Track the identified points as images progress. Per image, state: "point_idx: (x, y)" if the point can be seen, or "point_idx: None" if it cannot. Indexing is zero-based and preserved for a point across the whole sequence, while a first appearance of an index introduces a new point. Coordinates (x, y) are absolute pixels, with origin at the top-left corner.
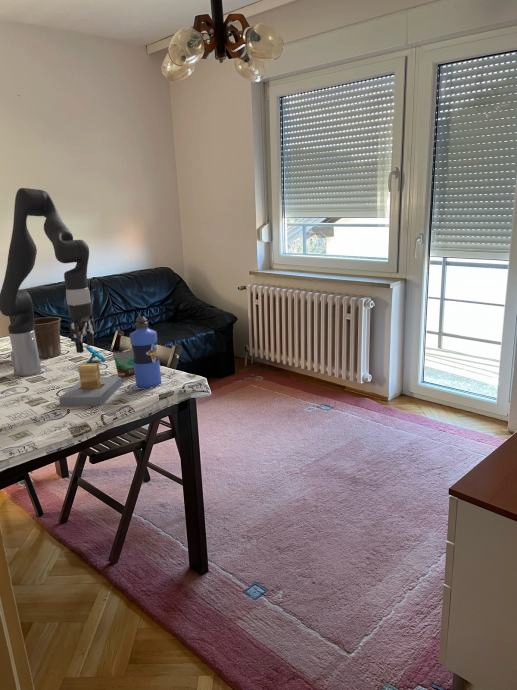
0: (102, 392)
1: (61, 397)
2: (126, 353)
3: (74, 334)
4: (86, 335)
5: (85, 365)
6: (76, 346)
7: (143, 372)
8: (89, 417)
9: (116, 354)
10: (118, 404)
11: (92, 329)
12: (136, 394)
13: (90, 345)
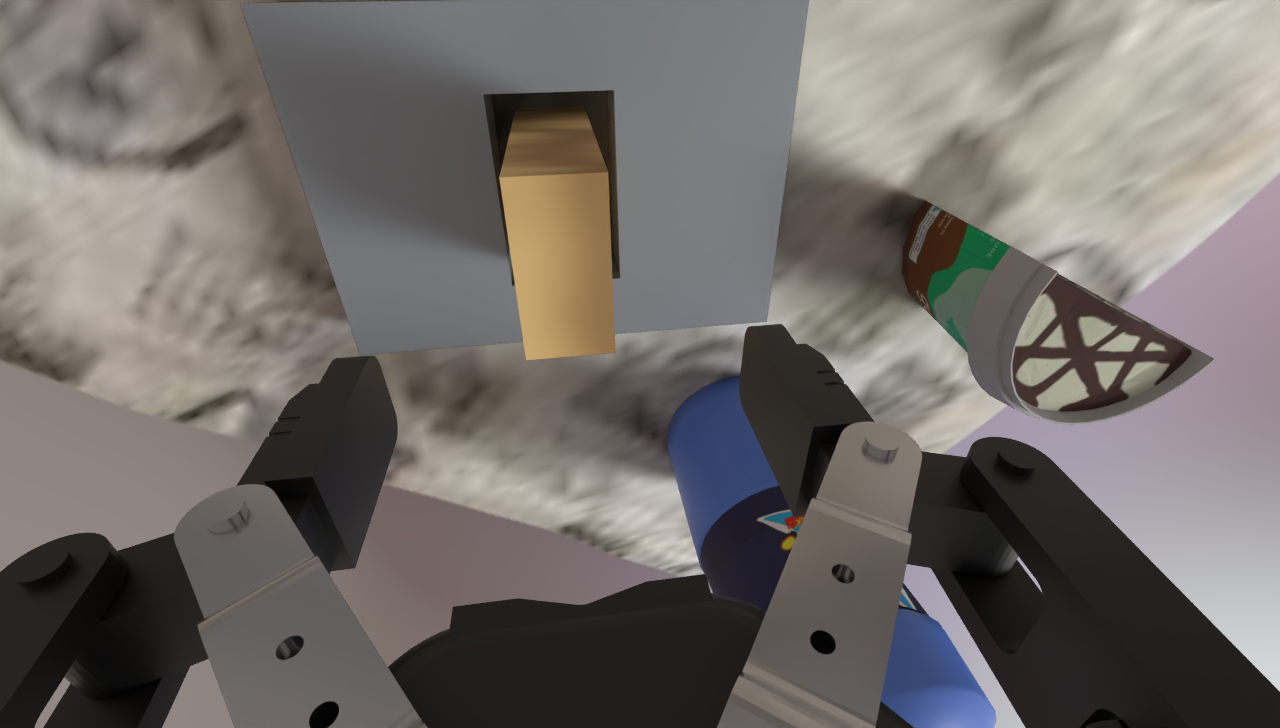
0: (444, 334)
1: (251, 32)
2: (1000, 374)
3: (213, 629)
4: (812, 433)
5: (536, 254)
6: (263, 454)
7: (686, 509)
8: (172, 342)
9: (1014, 300)
10: (414, 408)
11: (940, 564)
12: (575, 433)
13: (742, 363)
